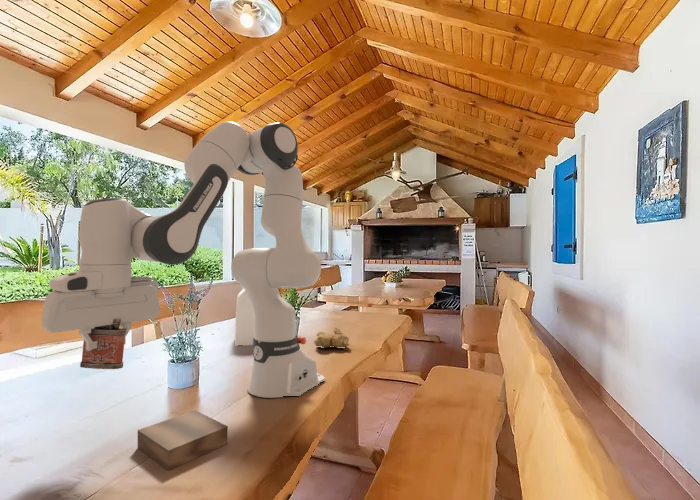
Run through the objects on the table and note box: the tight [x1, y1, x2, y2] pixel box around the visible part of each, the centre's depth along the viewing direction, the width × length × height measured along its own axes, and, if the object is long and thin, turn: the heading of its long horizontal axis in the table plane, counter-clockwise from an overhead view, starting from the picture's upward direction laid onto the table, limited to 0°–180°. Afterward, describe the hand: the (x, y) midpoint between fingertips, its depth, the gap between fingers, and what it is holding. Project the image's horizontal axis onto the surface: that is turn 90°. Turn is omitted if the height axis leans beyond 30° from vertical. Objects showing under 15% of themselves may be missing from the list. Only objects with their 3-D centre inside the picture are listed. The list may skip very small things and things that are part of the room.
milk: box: [234, 288, 255, 347], centre depth 161 cm, size 12×12×26 cm
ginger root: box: [313, 327, 350, 348], centre depth 153 cm, size 16×16×8 cm
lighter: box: [79, 319, 126, 370], centre depth 78 cm, size 8×3×10 cm, turn 89°
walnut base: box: [137, 410, 229, 471], centre depth 77 cm, size 12×12×4 cm
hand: (106, 347), depth 78 cm, fingers closed on lighter, 4 cm apart
